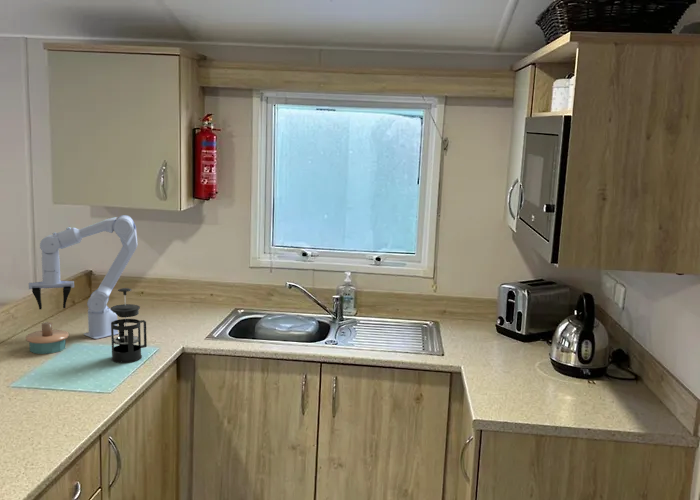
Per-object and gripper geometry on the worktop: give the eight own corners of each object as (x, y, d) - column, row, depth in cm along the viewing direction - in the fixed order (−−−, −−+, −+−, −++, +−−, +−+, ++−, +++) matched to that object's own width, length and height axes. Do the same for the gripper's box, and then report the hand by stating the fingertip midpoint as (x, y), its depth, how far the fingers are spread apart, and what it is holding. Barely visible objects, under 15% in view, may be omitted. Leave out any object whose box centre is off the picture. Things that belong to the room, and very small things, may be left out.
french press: (114, 365, 218) (112, 293, 214) (105, 357, 225) (103, 287, 222) (151, 359, 225) (149, 289, 221) (141, 351, 232) (139, 283, 228)
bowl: (55, 341, 240) (54, 330, 239) (71, 348, 233) (71, 337, 232) (24, 348, 231) (23, 337, 231) (39, 355, 225) (39, 344, 224)
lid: (70, 330, 239) (69, 317, 238) (66, 342, 227) (66, 327, 226) (28, 333, 235) (28, 319, 234) (23, 344, 223) (22, 330, 222)
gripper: (73, 267, 247) (75, 304, 249) (29, 268, 242) (30, 306, 244) (73, 271, 241) (74, 309, 243) (27, 272, 236) (29, 311, 238)
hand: (52, 308), depth 243 cm, fingers open, 7 cm apart
